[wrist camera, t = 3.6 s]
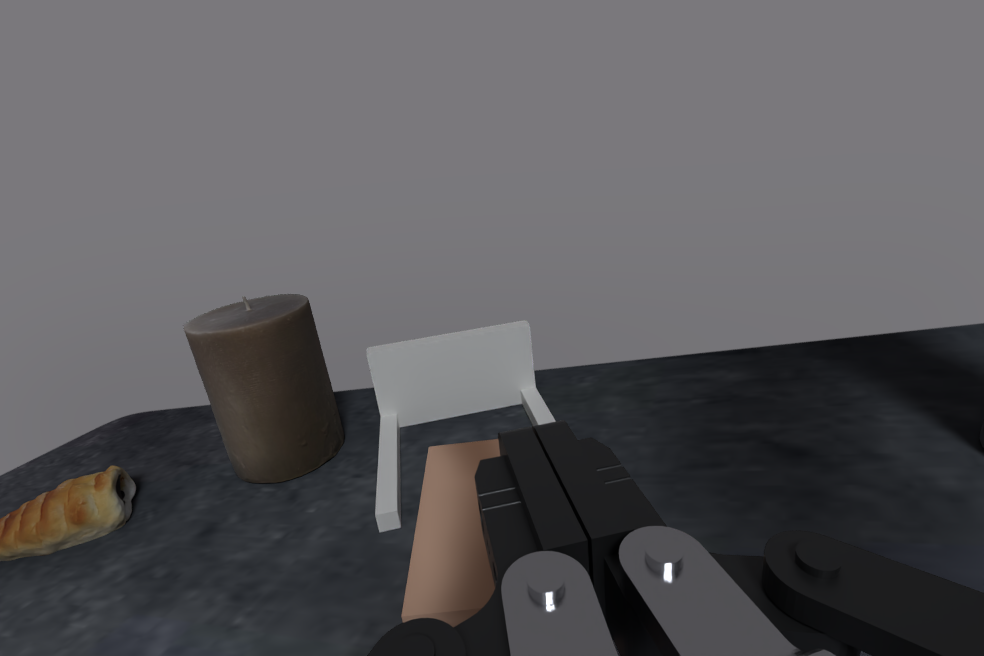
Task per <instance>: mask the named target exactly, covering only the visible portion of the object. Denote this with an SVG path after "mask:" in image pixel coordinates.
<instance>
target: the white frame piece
mask: <svg viewBox="0 0 984 656" xmlns="http://www.w3.org/2000/svg"><path fill="white" fill-rule="evenodd" d="M367 358H368V363H369V367H370V371H371V376H372V380H373V385H374V389H375V394H376V398H377V403H378V407H379V411H380V416H381V421H380V439H379V457H378V475H377V493H376V511H375V516H376V520H377V524H378V528H379V532H384V531H388V530H393V529H397V528H401V485H400V427H405V426H410V425H415V424H420V423H425V422H430V421H435V420H440V419H446V418H451V417H456V416H461V415H466V414H471V413H476V412H481V411H486V410H492V409H497V408H502V407H507V406H512V405H517V404H522V405H523V407H524V409H525V411H526V413H527V415H528V417H529V419H530V421H531V423H532V425H533V426H536V425H541V424H546V423H551V422H556V421H555V420H554V418H553V416H552V414H551V413H550V411H549V409H548V408H547V406H546V404H545V403H544V401H543V399H542V397H541V396H540V394H539V392H538V391H537V389H536V387H535V377H534V367H533V355H532V345H531V334H530V325H529V324H528V322H527V321H526V320H523V321H518V322H512V323H507V324H500V325H495V326H489V327H483V328H477V329H472V330H466V331H461V332H454V333H448V334H443V335H437V336H431V337H426V338H420V339H414V340H408V341H403V342H397V343H391V344H385V345H380V346H374V347H368V348H367Z"/></svg>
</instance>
